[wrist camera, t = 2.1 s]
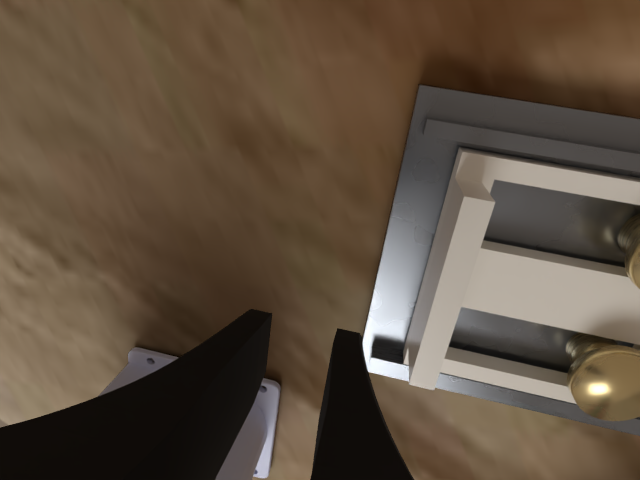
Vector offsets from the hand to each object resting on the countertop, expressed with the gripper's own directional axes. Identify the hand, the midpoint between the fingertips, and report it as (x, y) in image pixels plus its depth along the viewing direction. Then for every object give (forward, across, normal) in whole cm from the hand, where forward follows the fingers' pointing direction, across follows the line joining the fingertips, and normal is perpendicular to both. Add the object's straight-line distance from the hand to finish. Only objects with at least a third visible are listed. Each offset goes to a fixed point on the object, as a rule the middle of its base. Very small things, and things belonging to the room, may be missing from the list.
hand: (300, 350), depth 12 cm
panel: (+8, -9, 0) cm, 12 cm away
